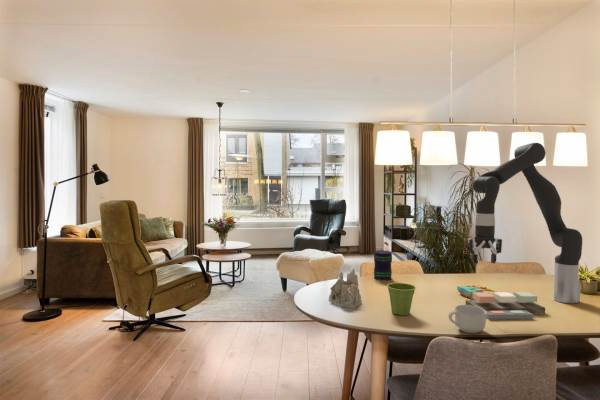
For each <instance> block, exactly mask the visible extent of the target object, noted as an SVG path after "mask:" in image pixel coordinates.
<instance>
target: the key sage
mask: <svg viewBox="0 0 600 400" xmlns="http://www.w3.org/2000/svg"><path fill="white" fill-rule="evenodd" d="M512 295H514V296H516V300H519V301H521V302H534V303H537V302H538V295H536V294H533V293H532V292H529V291H513V293H512Z"/></svg>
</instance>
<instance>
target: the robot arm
mask: <svg viewBox="0 0 600 400" xmlns="http://www.w3.org/2000/svg"><path fill="white" fill-rule="evenodd" d="M513 155H514V158H512V159H510V160H508V161H505V162H503V163H501V164H499V165H498V166H496V167H495V168H494V169H492V170H490V171H487V172H484V173H482V174H480V175H478V176H477V177H476V178H474V179H473V182H472V185H471V186H472V190H473V191H474V192H476V193H478V194H485V195H484V197H483V198H480V199H478V200H476V203H475V204H476V207H475V208H476V209H475V210H476V211H475V213H476V214H475V221H474V223H475V225H474V228H475V229H474V234H475V235H474V238H467V241H466V242H467V252H468V253H469V254H471V261H472V262H473V264H478V252H479V251H481V249H488V250H489V251H490V253H491V254H490V263H491V264H496V263H497V255H498V254H501V253H502V247H503V239H502V238H495V232H496V231H495V227H496V219H495V212H496V211H495V207H496V205H495V203H496V201H497V198H498V195H499V191H500V186H501V185H503V184H504V183H506V182H507V181H509V179H511V178H513V177H514V176H516V175H517V174H519V173H520V172H522V174H523V176H524V177H525V179H526V181H527V183H528V185H529V187H530V190H531V191H532V194H533V196H534V199H535V201H536V204H537V205H538V207H539V209H540V212H541V214H542V216H543V218H544V220H545V223H546V226H547V230H548V232H549V235H550V238H551V241H552V242H553V244H554V245H555V246H557V247H558V248H561V249H560V250H561V251H560V253H559V255H555V257H554V272H553V273H554V279H553V281H554V285H553V300H554V301H556V302H559V303H563V304H577V303H581V281H580V280H579V272H580V271H579V265H580V260H581V258H582V252H583V251H582V250H583V236H582V234H581V232H580V231H579V230H577V229H575V228H568V227H567V226H566V224H565V221H564V220H563V218H562V217H563V216H562V214H561V213H562V211H561V210H562V199H561V196H560V194H559V191H558V189H557V188H556V186H555V185H554V184H553V183H552V182H551V181H550V180H549V179H547V178H546V177H545V176H543V175H542V174H541V173H540V172H539V171H538V170H537V168H536V166H535V165H536V164H539V163H540V162H542V161H543V160H544V159H545V157H546V149H545V146H544V145H542V143H540V142H532V143H527V144H524V145H521V146H518V147H516V148H515V150H514V154H513ZM474 243H475V245H474ZM494 243H495V246H494Z"/></svg>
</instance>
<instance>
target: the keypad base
mask: <svg viewBox="0 0 600 400" xmlns="http://www.w3.org/2000/svg"><path fill="white" fill-rule="evenodd" d="M464 305H471V306H476V307H480V308H482V309H484V310H485V311H512V310H526V311H528V312H530V313H532V314H533V315H545V314H546V307H544V306H542V305H540V304H538V303H537V302H521V301H519V300H517V299H516V302H499V301H498V300H495V302H478V301H476V300H473V299H470V300H469V299H466V300H465V304H464Z"/></svg>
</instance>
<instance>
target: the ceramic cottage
mask: <svg viewBox="0 0 600 400" xmlns="http://www.w3.org/2000/svg"><path fill="white" fill-rule="evenodd" d="M355 270H356V269H355V268H352V270H351V271H350V272H349V273H347V274H346V280H344V273H343V272H342V271H339V274H338V275H339V277H338V279H337V281H336V282H335V283H334V284H333V285H332V286H331V287H330V294H329V296H328V301H329V302H330V303H332V304H334V305H335V306H337V307H339V308H350V309H353V308H354V309H355V308H356V307H359V306H361V305H362V304H363V302H362V296H361V293H360V289H359V287H360V286H359V279H358V276H359V275H358V274H356V273H355Z"/></svg>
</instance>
